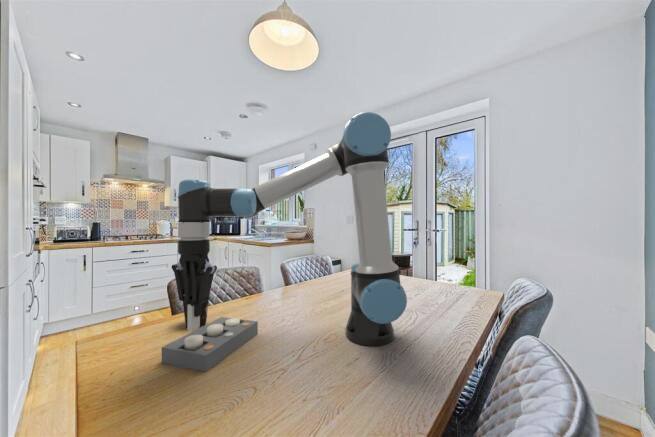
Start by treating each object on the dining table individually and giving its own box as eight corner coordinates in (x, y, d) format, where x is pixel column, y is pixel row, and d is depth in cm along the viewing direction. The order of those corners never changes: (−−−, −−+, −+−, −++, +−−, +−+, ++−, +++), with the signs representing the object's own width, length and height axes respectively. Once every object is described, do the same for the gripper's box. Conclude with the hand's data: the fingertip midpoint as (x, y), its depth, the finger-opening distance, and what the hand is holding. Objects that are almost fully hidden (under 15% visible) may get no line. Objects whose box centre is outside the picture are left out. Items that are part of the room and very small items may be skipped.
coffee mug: (198, 330, 89) (198, 300, 89) (176, 328, 91) (176, 299, 91) (219, 318, 101) (219, 291, 101) (199, 316, 103) (199, 290, 103)
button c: (206, 343, 72) (206, 335, 72) (194, 350, 68) (194, 343, 68) (193, 341, 73) (193, 333, 73) (180, 348, 69) (180, 340, 69)
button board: (257, 333, 87) (257, 320, 87) (205, 371, 65) (205, 354, 65) (221, 328, 91) (221, 316, 91) (161, 362, 69) (161, 346, 69)
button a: (242, 325, 87) (242, 318, 87) (234, 330, 83) (234, 323, 83) (231, 323, 89) (231, 317, 89) (222, 328, 84) (222, 322, 84)
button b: (226, 331, 80) (226, 324, 80) (216, 337, 75) (216, 330, 75) (214, 329, 81) (214, 323, 81) (203, 335, 77) (203, 328, 77)
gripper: (224, 238, 72) (223, 325, 72) (186, 237, 76) (185, 320, 76) (203, 240, 65) (203, 337, 65) (162, 239, 69) (162, 330, 69)
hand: (193, 328), depth 71 cm, fingers closed
